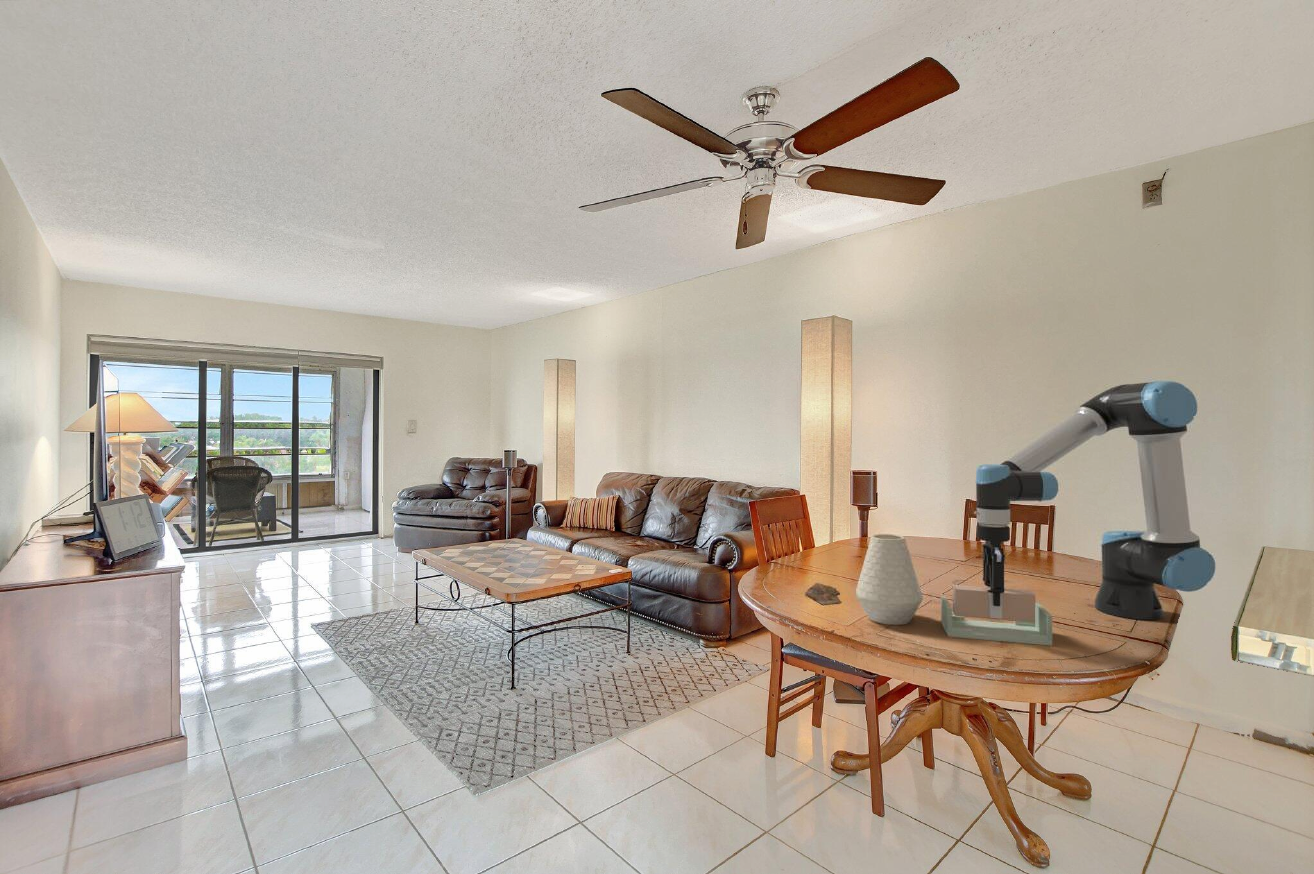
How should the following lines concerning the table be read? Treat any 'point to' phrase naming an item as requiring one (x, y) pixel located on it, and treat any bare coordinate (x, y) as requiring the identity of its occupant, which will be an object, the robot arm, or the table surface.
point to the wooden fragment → (823, 594)
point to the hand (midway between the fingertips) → (993, 614)
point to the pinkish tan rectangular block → (977, 603)
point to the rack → (999, 627)
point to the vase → (888, 581)
